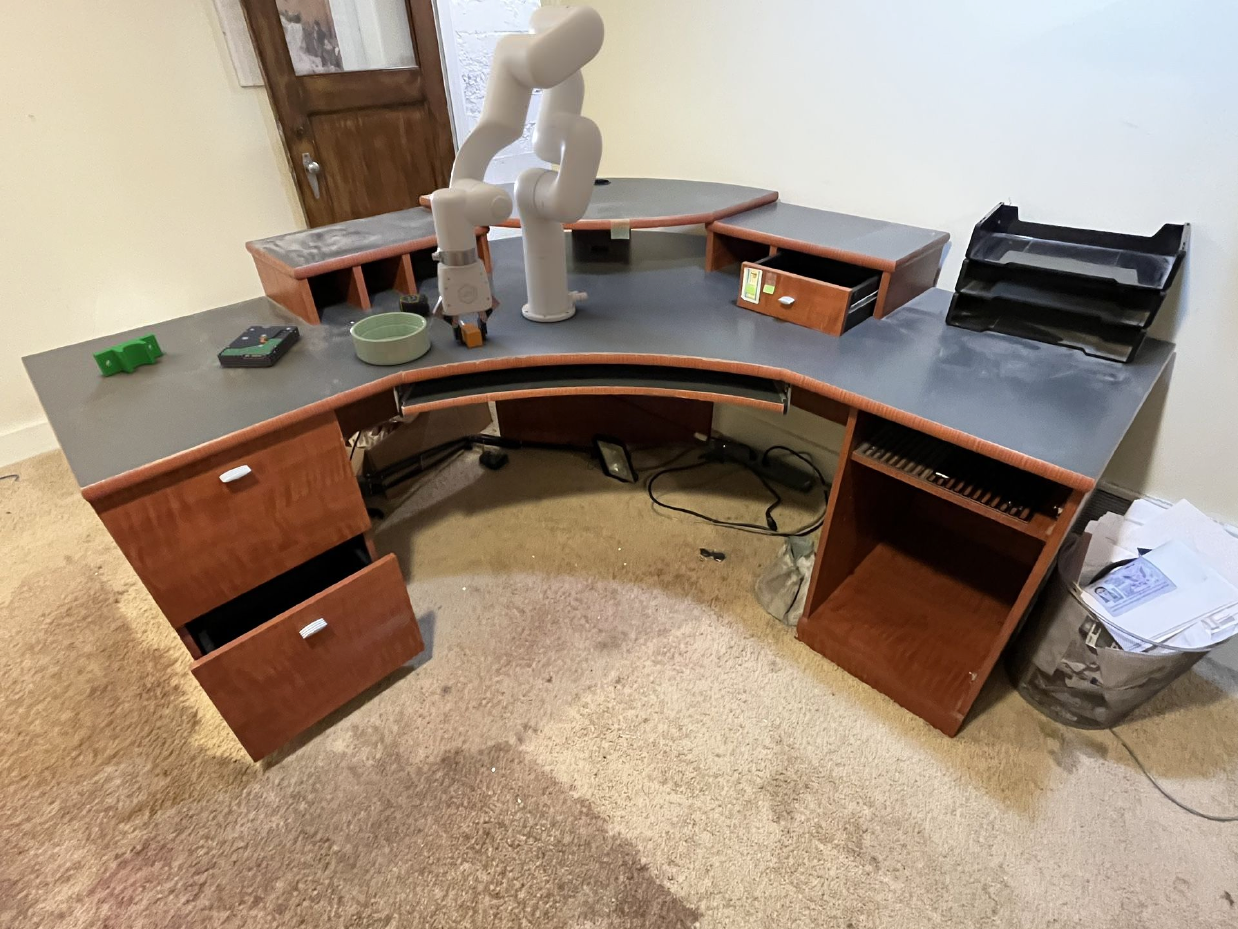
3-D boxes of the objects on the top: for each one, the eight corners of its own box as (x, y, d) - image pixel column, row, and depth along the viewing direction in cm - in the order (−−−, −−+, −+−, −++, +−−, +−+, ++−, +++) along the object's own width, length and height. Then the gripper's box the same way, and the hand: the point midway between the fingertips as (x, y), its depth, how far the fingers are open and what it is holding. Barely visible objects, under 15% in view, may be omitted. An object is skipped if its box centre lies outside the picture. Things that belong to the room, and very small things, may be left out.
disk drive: (254, 337, 137) (220, 367, 125) (250, 325, 135) (215, 354, 123) (301, 337, 137) (272, 366, 125) (297, 325, 135) (268, 354, 123)
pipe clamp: (115, 379, 121) (103, 358, 118) (103, 375, 122) (92, 354, 119) (171, 356, 129) (161, 336, 126) (160, 353, 130) (150, 332, 127)
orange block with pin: (482, 345, 133) (480, 331, 132) (469, 347, 132) (466, 333, 130) (468, 326, 142) (466, 312, 140) (455, 328, 141) (453, 315, 139)
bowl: (422, 331, 139) (417, 307, 136) (438, 357, 128) (433, 332, 125) (352, 343, 134) (346, 319, 131) (362, 372, 123) (356, 347, 120)
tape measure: (431, 316, 146) (428, 301, 144) (401, 320, 144) (397, 304, 142) (429, 306, 151) (426, 291, 149) (400, 309, 150) (397, 294, 147)
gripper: (420, 267, 119) (437, 354, 129) (505, 255, 125) (513, 339, 136) (412, 256, 124) (428, 340, 135) (493, 245, 130) (503, 327, 141)
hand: (471, 339), depth 135 cm, fingers open, 4 cm apart
